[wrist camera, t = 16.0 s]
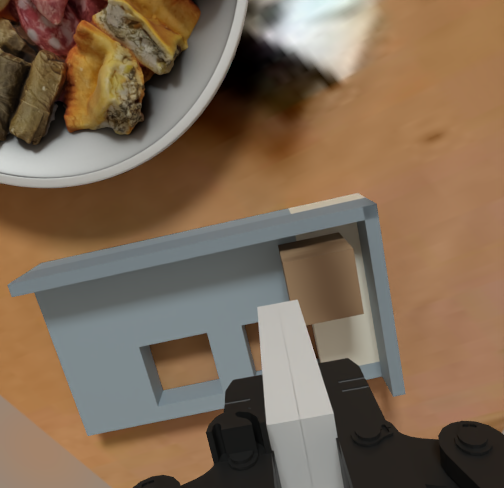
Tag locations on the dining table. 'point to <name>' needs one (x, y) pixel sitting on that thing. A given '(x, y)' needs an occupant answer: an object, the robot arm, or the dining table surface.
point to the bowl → (105, 82)
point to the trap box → (202, 309)
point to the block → (322, 277)
